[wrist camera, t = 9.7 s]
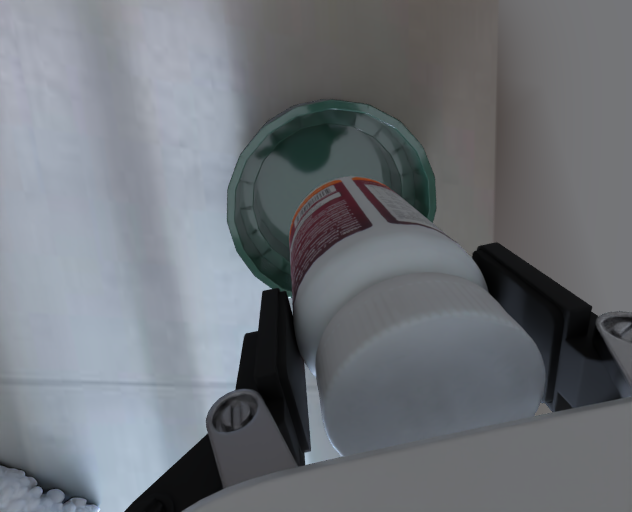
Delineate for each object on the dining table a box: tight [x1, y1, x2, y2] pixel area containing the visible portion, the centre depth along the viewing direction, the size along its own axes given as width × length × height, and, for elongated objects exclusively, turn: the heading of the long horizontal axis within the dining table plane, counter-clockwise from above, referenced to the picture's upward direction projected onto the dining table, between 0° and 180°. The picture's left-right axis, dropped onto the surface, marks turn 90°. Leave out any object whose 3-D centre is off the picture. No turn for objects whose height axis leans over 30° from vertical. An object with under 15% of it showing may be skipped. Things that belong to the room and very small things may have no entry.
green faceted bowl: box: [227, 99, 436, 298], centre depth 30 cm, size 16×16×7 cm
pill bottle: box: [289, 176, 546, 457], centre depth 13 cm, size 6×6×11 cm
